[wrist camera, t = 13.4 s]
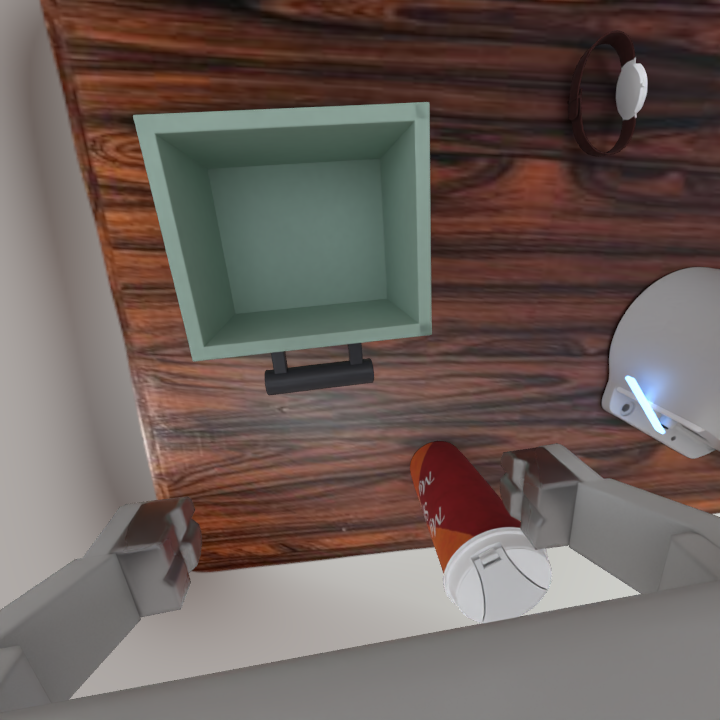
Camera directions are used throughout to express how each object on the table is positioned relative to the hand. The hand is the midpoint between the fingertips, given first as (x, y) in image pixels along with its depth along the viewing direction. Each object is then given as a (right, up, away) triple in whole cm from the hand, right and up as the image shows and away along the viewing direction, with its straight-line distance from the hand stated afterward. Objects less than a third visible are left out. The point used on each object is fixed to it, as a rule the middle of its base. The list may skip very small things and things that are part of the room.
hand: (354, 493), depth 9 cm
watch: (+18, +23, +19) cm, 35 cm away
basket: (-4, +17, +12) cm, 21 cm away
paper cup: (+8, -7, +28) cm, 30 cm away
